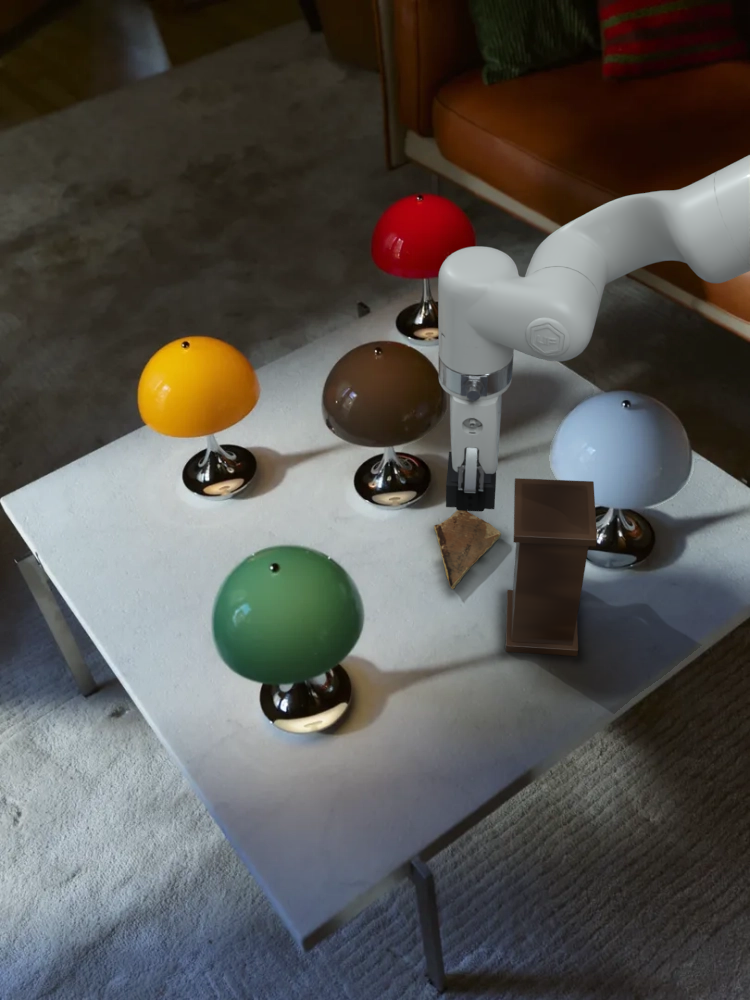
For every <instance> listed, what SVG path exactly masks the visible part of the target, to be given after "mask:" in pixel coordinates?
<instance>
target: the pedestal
mask: <svg viewBox="0 0 750 1000" xmlns="http://www.w3.org/2000/svg"><path fill="white" fill-rule="evenodd" d="M513 496H514V497H513V503H514V504H513V538H512V539H513V540H512V541H513V543H514V544H515V555H514V568H513V579H512V580H513V581H512V582H513V583H512V589H507V590H506V612H505V613H506V616H505V617H506V619H505V652H506V653H520V654H534V655H535V654H537V655H551V656H552V655H553V656H569V657H570V656H571V657H578V653H579V637H578V636H579V635H578V615H579V608H580V601H581V596H582V589H583V584H584V578H585V572H586V566H587V559H588V553H589V548H590V547H596V546H597V543H598V533H597V532H598V531H597V517H596V516H597V515H596V497H595V483H594V481H589V480H572V479H571V480H570V479H569V480H568V479H547V478H546V479H545V478H544V479H543V478H520V477H519V478H514V495H513Z"/></svg>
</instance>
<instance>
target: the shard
mask: <svg viewBox="0 0 750 1000" xmlns="http://www.w3.org/2000/svg"><path fill="white" fill-rule="evenodd" d="M433 529H434V532H435V535H436V538H437V542H438V546H439V550H440V555H441V558H442V563H443V567H444V571H445V575H446V580H447V582H448V585H449V588H451V590H455V588H456V587H457V585H458V584H459V583H460V582H461V580H462V579H463V577H464V576H465V575H466V574H467V572H468V571H470V569H471V567H472V566H473V565H475V564H476V563H477V561H478V560H479V559H480V558H481V557H482V556H483V555H484V554H485V553H486V552H487V551H488V550H489V549H490V548H492V547H493V546H494V544H495V543H496V542H497V541H498V540H499V539H500V537H501V536H502V533H501V531H500V530H499V529H497V528H495V526H493V525H492V524H491V523H489V522H487V521H486V520H484V519H482V518H480V517H479V516H476V515H474V514H473V513H471V512H470V511H459V510H457V509H456V511H455V512H454V513H453V514H452V515H450V517H448V518H447V519H445V520H443V521H442V522H441V523H438V524H435V525H434V527H433Z"/></svg>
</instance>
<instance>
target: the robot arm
mask: <svg viewBox="0 0 750 1000" xmlns="http://www.w3.org/2000/svg"><path fill="white" fill-rule="evenodd" d="M667 261H668V262H669V261H674V262H681V263H685V264H687V266H688V267H689V268H690V270H692V272H694V274H695V275H696V276H697V277H699V278H700V279H701V280H703V281H705V282H707V283H710V284H722V283H725V282H729V281H731V280H733V279H736V278H738V277H739V276H741V275H744V274H746V273H749V272H750V154H748V155H747V156H744V157H743V158H741V159H739V160H737V161H735V162H733V163H731V164H729V165H727V166H725V167H723V168H721V169H719V170H717V171H715V172H713V173H711V174H709V175H707V176H705V177H703V178H701V179H699V180H697V181H695V182H692V183H691V184H689V185H686V186H684V187H681V188H679V189H674V190H670V189H669V190H657V191H650V192H645V193H644V192H642V193H635V194H630V195H625V196H622V197H621V196H620V197H618V198H616V199H613V200H611V201H608V202H606V203H603V204H602V205H600V206H598V207H596V208H594V209H592V210H590V211H588V212H586V213H585V214H583V215H580V216H579V217H577V218H575V219H573V220H571V221H569V222H568V223H565V224H564V225H562V226H561V227H559V228H558V229H556V230H554V231H553V232H552V233H550V234H549V235H548V236H547V237H546V238H545V239H544V240H543V241H542V242H541V243H540V244H539V245H538V246H537V248H536V249H535V251H534V252H533V254H532V256H531V259H530V262H529V264H528V266H527V269H526V272H525V275H524V276H521V275H519V270H518V267H517V264H516V263H515V261H514V260H513V258H512V257H511V256H509V254H507V253H506V252H504V251H502V250H500V249H497V248H494V247H490V246H477V245H475V246H467V247H463V248H460V249H458V250H456V251H454V252H452V253H451V254H450V255H448V256H446V258H445V260H443V262H442V264H441V266H440V268H439V271H438V277H437V278H438V280H437V302H438V303H437V305H438V306H437V312H438V315H437V317H438V319H437V320H438V321H437V322H438V324H437V326H438V329H437V330H438V334H437V335H438V383H439V384H440V386H441V388H442V389H443V390H444V391H445V393H447V394H448V395H449V425H450V427H449V429H450V430H449V431H450V449H451V450H450V452H452V466H453V469H454V470H455V471H456V472H458V470H459V482H458V483H457V485H456V507H455V509H456V511H457V510H459V511H468V512H478V513H479V512H481V513H482V512H485V510H486V509H485V489H486V484H483V483H484V472H485V473H486V474H494V473H495V472H496V473H497V471H498V467H499V451H500V438H501V437H500V435H501V432H500V431H501V420H502V405H503V402H502V401H503V400H502V397H503V396H502V395H503V394H505V392H506V391H507V390H508V389H509V388H510V386H511V384H512V381H513V368H514V350H515V351H517V352H520V353H523V354H525V355H528V356H531V357H533V358H535V359H539V360H544V361H548V362H565V361H569V360H572V359H574V358H577V357H578V356H580V355H581V354H582V353H583V352H584V351H585V350H586V348H587V347H588V345H589V343H590V341H591V339H592V336H593V333H594V329H595V325H596V321H597V318H598V313H599V310H600V306H601V302H602V298H603V295H604V290H605V287H606V285H608V284H610V283H611V282H613V281H615V280H617V279H620V278H621V277H624V276H626V275H628V274H630V273H632V272H634V271H636V270H639V269H641V268H644V267H647V266H650V265H653V264H656V263H661V262H667ZM464 459H466V462H463V461H464ZM477 460H479V462H477ZM464 471H465V480H464ZM477 471H479V480H476V475H477Z"/></svg>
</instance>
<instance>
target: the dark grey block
mask: <svg viewBox="0 0 750 1000" xmlns="http://www.w3.org/2000/svg"><path fill="white" fill-rule="evenodd" d="M447 458H448V460H447V468H446V469H447V470H446V471H447V472H446V482H445V507H446V508H456V485H457V483H458V482H459V470H458V472H456V471H455V470H454V469H453V466H452V452H451V451H448V457H447ZM463 462H466V459H464V461H463ZM477 462H479V460H477ZM464 480H465V471H464ZM476 480H479V471H477V475H476ZM483 484H486V489H485V510H495V508H496V507H495V505H496V489H497V488H496V487H497V471H496V472H495V473H494V474H486V473H485V472H484V483H483Z"/></svg>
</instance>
